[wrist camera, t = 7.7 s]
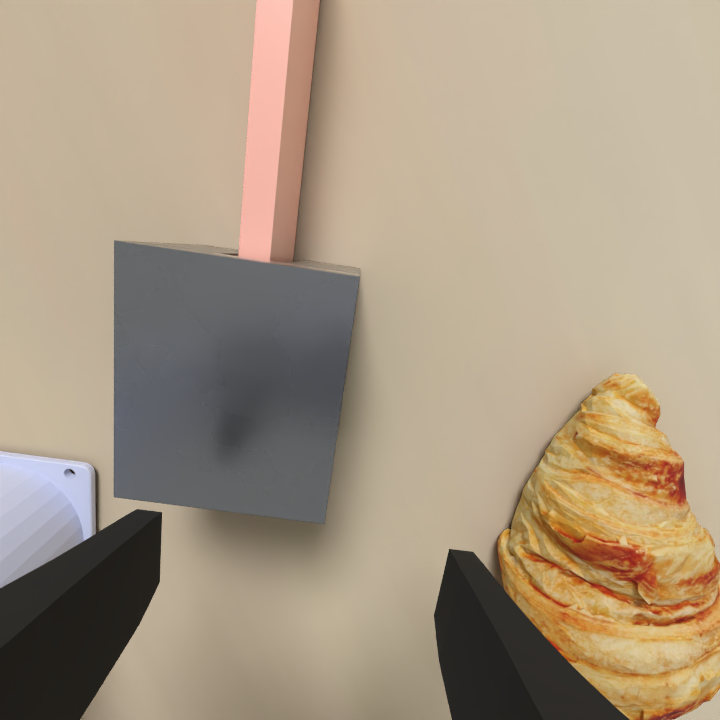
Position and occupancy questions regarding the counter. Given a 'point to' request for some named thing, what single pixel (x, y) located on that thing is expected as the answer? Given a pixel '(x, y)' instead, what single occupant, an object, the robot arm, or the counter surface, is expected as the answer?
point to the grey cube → (228, 378)
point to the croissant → (619, 558)
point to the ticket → (277, 127)
